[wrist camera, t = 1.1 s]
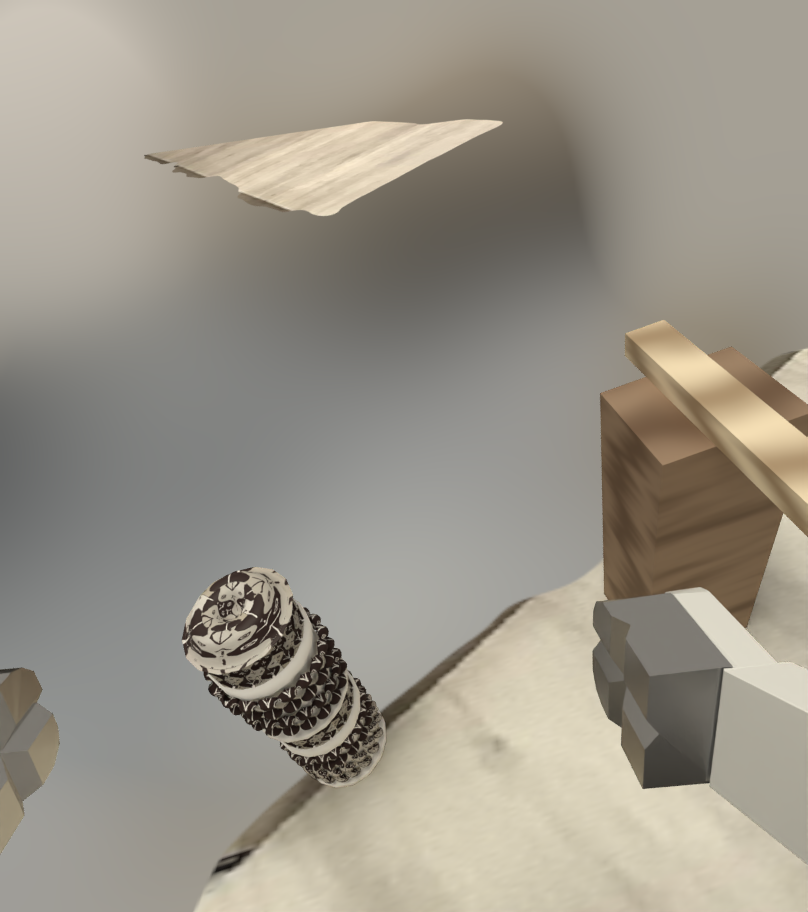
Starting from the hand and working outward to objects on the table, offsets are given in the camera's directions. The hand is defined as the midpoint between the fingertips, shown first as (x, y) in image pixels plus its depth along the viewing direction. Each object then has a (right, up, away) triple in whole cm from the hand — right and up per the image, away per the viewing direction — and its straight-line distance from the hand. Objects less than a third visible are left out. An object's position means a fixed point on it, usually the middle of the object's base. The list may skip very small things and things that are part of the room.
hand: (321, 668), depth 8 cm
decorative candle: (-5, -25, +47) cm, 53 cm away
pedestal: (+28, -12, +48) cm, 57 cm away
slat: (+21, +5, +28) cm, 35 cm away
